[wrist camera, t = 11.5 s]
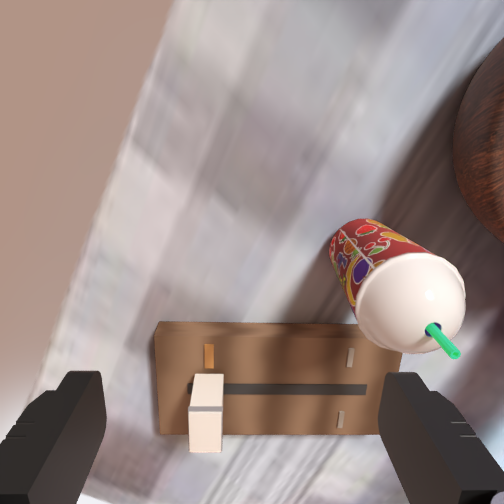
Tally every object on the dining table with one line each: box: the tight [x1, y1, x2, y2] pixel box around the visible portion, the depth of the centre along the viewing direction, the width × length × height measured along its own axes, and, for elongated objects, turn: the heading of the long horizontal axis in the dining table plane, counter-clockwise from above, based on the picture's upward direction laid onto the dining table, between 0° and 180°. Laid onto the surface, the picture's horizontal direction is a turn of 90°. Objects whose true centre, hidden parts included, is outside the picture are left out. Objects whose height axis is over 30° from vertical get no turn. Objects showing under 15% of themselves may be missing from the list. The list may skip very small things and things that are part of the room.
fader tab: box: [188, 374, 224, 453], centre depth 40 cm, size 3×5×6 cm, turn 178°
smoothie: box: [329, 219, 466, 359], centre depth 32 cm, size 8×8×20 cm
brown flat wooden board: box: [154, 321, 402, 435], centre depth 45 cm, size 28×14×3 cm, turn 88°
